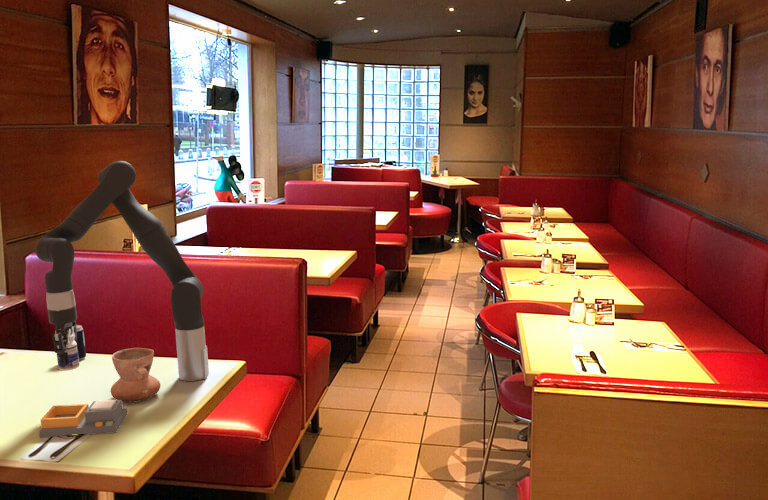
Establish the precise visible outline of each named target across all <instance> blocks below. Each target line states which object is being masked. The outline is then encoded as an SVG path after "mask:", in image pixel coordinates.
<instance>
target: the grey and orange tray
mask: <svg viewBox="0 0 768 500" xmlns="http://www.w3.org/2000/svg"><path fill="white" fill-rule="evenodd" d="M115 400H116V399H115ZM96 401H97V400H95V401H92V402H91V404H90V405H89V403H80V404H61V405H60V404H59V405H58V404H57V405H52V406H51V408H50V409H49V410H48V411H47V412H46V413H45V414H44V415H43V417H41V419H40V426H41V427H40V429H39V430H38V433H39V438H51V437H65V436H64V435H70V436H73V435H72V434H84V435H100V434H116V433H117V431H118V430H119V429H120V427H121V426H122V424H123V423H124V421H125V420H126V418H127V417H128V409H127V407H126V408H124V407H123V402H122V400H116V405H115V406H114V408H113V409H112V410H99V411H91V409H90V408H91V407H92V406H93V405H94V403H95V402H96Z"/></svg>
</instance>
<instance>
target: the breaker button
mask: <svg viewBox="0 0 768 500" xmlns="http://www.w3.org/2000/svg"><path fill="white" fill-rule="evenodd" d="M95 401H96V402H95V403H94V405H93V406H92V407H91V408H90V409H91V411H99V410H112V409H113V408H114V406H115V405H116V399H107V400H104V399H103V400H95Z"/></svg>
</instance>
